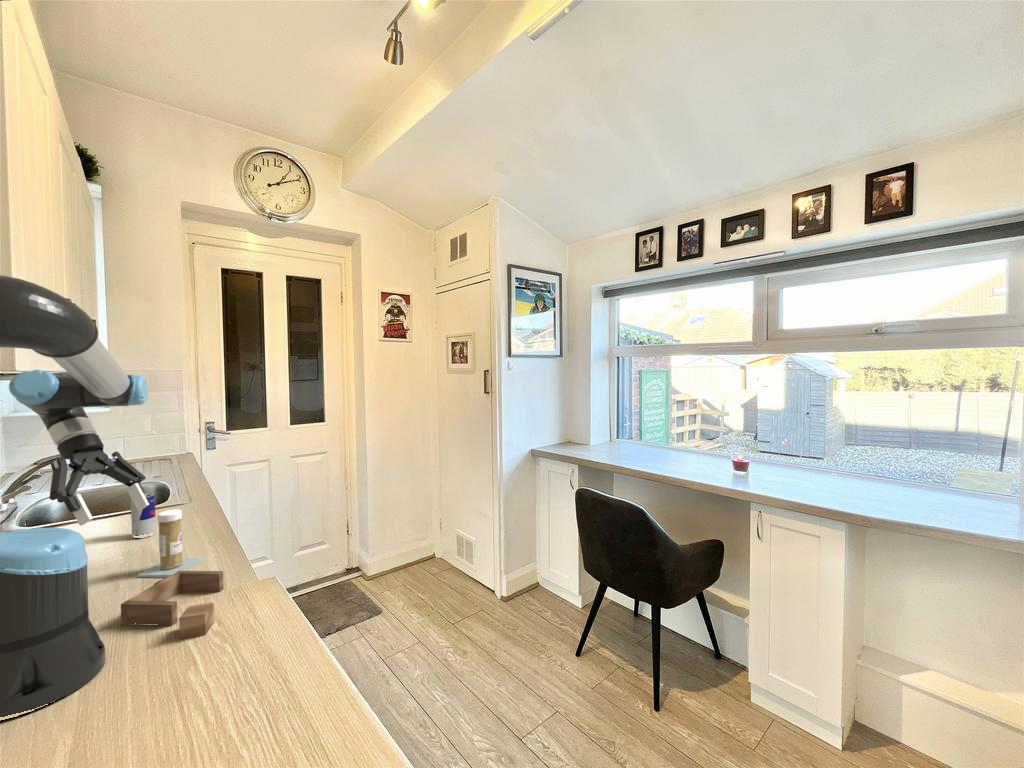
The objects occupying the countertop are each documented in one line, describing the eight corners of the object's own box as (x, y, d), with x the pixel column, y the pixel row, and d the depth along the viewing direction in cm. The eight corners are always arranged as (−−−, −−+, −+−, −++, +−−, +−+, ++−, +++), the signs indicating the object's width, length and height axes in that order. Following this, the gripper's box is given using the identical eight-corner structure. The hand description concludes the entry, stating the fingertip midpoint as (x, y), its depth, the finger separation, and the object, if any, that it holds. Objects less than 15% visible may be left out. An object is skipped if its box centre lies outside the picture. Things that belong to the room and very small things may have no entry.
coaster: (174, 577, 98) (174, 575, 98) (137, 577, 98) (137, 574, 98) (203, 560, 107) (203, 558, 107) (169, 560, 107) (169, 557, 107)
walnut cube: (205, 635, 76) (205, 613, 76) (179, 639, 75) (179, 617, 75) (214, 622, 80) (213, 602, 80) (189, 626, 79) (188, 605, 79)
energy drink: (159, 534, 125) (157, 494, 124) (135, 541, 120) (134, 499, 120) (152, 531, 127) (150, 492, 127) (129, 537, 123) (127, 496, 123)
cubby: (172, 625, 79) (171, 604, 79) (121, 624, 80) (120, 604, 80) (223, 588, 93) (223, 571, 93) (179, 588, 93) (179, 570, 93)
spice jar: (182, 567, 102) (180, 512, 102) (158, 572, 100) (156, 516, 99) (184, 560, 106) (182, 507, 105) (160, 565, 103) (159, 511, 103)
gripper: (116, 443, 116) (152, 509, 114) (-1, 454, 91) (43, 538, 89) (138, 429, 116) (174, 495, 114) (27, 435, 91) (71, 520, 89)
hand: (117, 514), depth 101 cm, fingers open, 13 cm apart
